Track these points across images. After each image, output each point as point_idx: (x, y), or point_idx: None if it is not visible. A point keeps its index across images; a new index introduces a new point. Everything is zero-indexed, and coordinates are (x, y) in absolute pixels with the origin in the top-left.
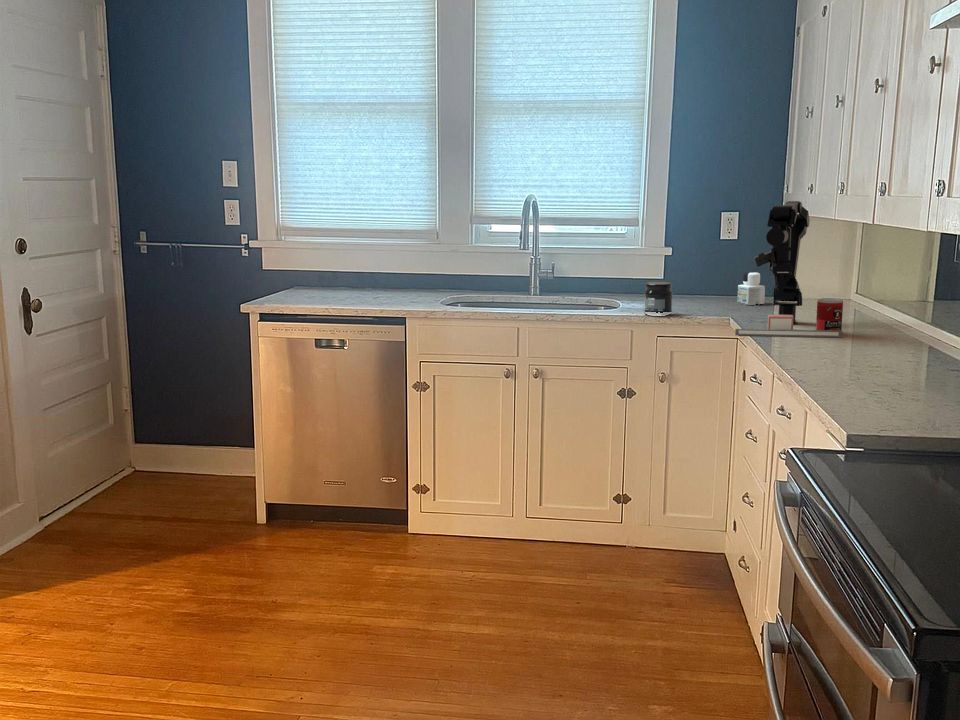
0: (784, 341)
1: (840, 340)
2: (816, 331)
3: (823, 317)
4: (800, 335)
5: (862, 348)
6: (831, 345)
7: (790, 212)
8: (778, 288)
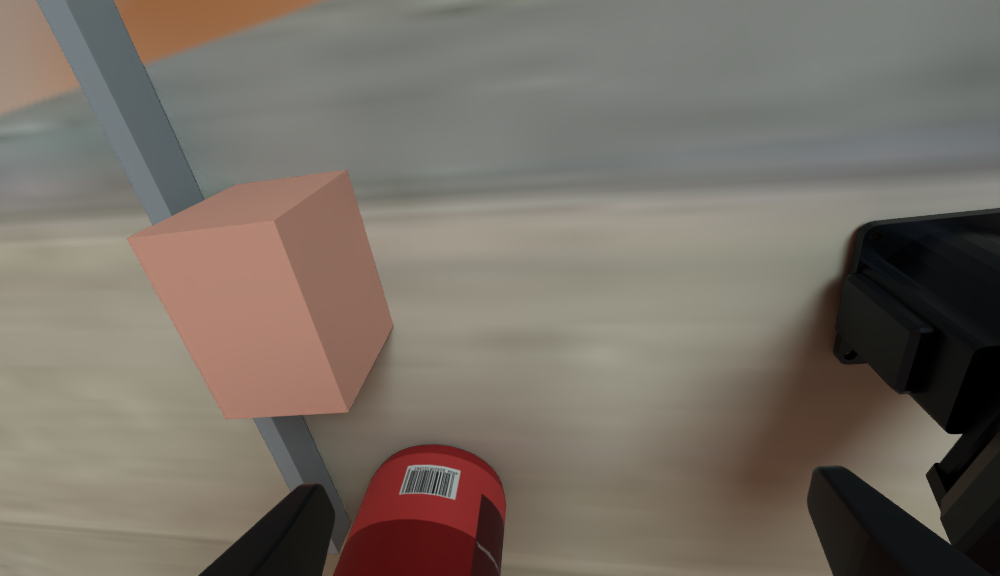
0: (43, 295)
1: (250, 513)
2: (280, 461)
3: (339, 559)
4: None
5: (103, 555)
6: (91, 478)
7: None
8: (234, 552)
